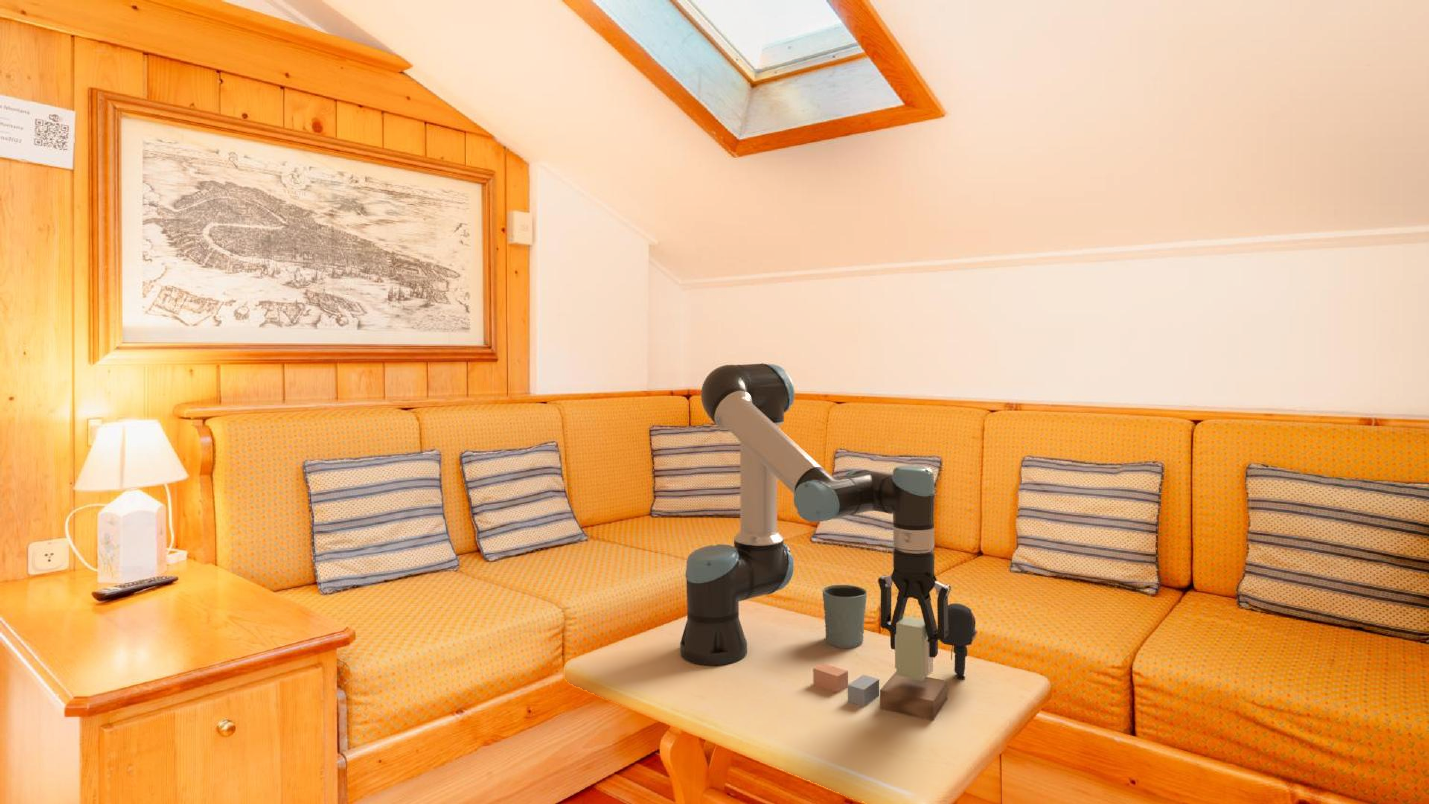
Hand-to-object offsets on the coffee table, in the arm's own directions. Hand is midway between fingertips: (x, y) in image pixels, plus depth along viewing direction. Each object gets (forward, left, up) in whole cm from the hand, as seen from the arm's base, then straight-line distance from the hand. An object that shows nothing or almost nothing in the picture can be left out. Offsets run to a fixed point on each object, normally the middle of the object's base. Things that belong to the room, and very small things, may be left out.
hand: (913, 669), depth 148 cm
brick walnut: (0, 0, -7) cm, 7 cm away
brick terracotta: (-17, -1, -7) cm, 18 cm away
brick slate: (-9, -3, -7) cm, 12 cm away
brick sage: (0, 0, -1) cm, 1 cm away
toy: (+3, +17, -7) cm, 19 cm away
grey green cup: (-25, +23, -7) cm, 35 cm away
